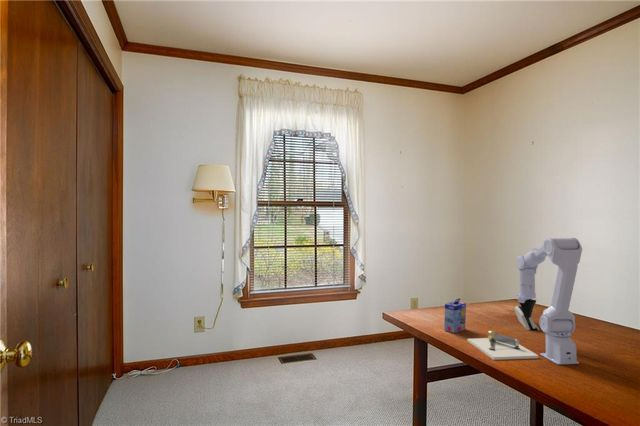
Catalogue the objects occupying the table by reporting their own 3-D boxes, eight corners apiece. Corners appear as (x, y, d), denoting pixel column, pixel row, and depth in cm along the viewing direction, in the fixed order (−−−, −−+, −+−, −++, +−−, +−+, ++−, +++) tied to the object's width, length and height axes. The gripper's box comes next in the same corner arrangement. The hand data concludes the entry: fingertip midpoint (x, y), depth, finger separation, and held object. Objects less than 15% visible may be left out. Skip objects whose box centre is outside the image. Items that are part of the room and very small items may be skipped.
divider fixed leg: (490, 341, 149) (490, 338, 149) (494, 342, 149) (494, 339, 149) (489, 349, 140) (489, 346, 140) (493, 350, 140) (493, 347, 140)
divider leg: (486, 339, 150) (486, 331, 150) (490, 338, 152) (490, 329, 152) (516, 348, 140) (516, 339, 140) (521, 346, 141) (520, 337, 141)
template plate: (538, 358, 134) (538, 353, 134) (493, 359, 133) (493, 355, 133) (507, 339, 154) (506, 335, 154) (467, 341, 153) (467, 337, 153)
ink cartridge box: (455, 333, 163) (454, 300, 163) (443, 330, 167) (443, 298, 167) (466, 329, 169) (466, 297, 169) (455, 326, 173) (455, 295, 173)
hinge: (539, 330, 165) (531, 309, 166) (528, 333, 167) (520, 312, 168) (529, 320, 182) (521, 301, 183) (519, 323, 183) (511, 303, 184)
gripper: (522, 281, 162) (523, 312, 161) (510, 285, 152) (510, 318, 152) (540, 283, 156) (541, 315, 156) (529, 288, 146) (529, 322, 146)
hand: (527, 317), depth 154 cm, fingers closed
